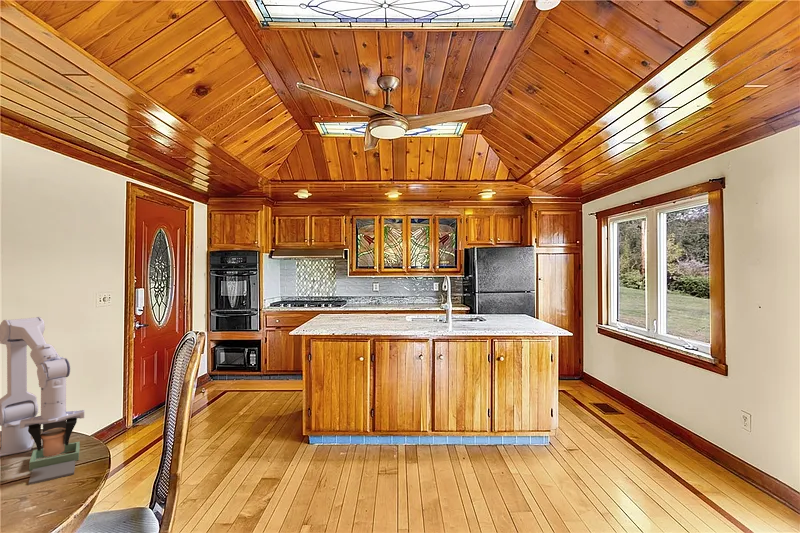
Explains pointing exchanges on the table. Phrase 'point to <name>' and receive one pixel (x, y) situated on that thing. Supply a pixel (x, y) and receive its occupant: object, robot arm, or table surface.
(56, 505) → the table surface
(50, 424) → the phone stand
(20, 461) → the table surface
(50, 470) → the slate mat
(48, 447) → the terracotta pot
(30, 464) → the frame
